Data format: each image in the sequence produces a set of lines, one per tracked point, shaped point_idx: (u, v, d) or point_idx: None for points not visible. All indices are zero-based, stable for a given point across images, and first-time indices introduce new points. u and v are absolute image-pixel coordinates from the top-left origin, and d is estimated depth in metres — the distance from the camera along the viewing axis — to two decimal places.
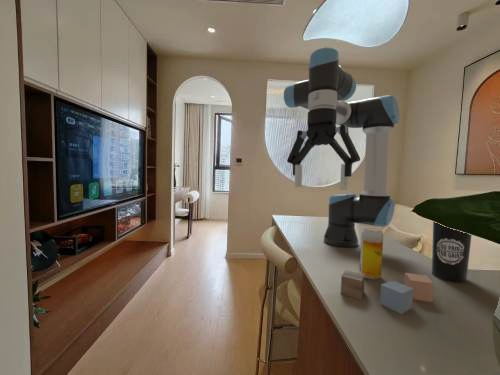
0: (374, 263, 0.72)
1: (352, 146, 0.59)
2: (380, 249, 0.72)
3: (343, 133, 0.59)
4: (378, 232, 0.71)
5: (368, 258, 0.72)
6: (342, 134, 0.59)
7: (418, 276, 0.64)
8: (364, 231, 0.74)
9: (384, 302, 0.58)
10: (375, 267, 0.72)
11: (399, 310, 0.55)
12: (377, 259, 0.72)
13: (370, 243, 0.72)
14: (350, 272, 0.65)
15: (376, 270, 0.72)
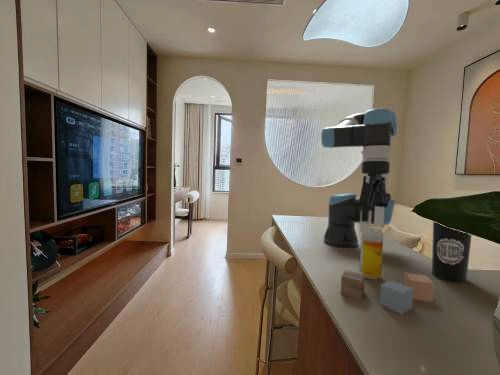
0: (374, 263, 0.72)
1: (363, 195, 0.67)
2: (380, 249, 0.72)
3: None
4: (378, 232, 0.71)
5: (368, 258, 0.72)
6: None
7: (418, 276, 0.64)
8: None
9: (384, 302, 0.58)
10: (375, 267, 0.72)
11: (399, 310, 0.55)
12: (377, 259, 0.72)
13: (370, 243, 0.72)
14: (350, 272, 0.65)
15: (376, 270, 0.72)
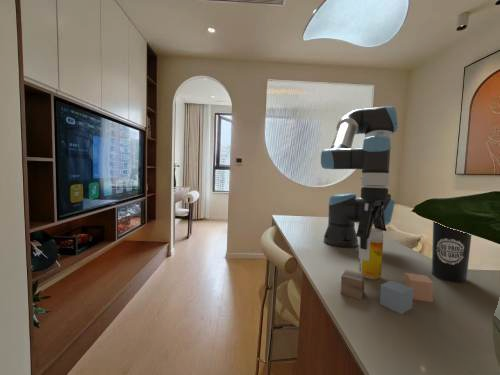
0: (374, 263, 0.72)
1: (362, 223, 0.68)
2: (380, 249, 0.72)
3: None
4: (378, 232, 0.71)
5: None
6: None
7: (418, 276, 0.64)
8: None
9: (384, 302, 0.58)
10: (375, 267, 0.72)
11: (399, 310, 0.55)
12: (377, 259, 0.72)
13: (370, 243, 0.72)
14: (350, 272, 0.65)
15: (376, 270, 0.72)
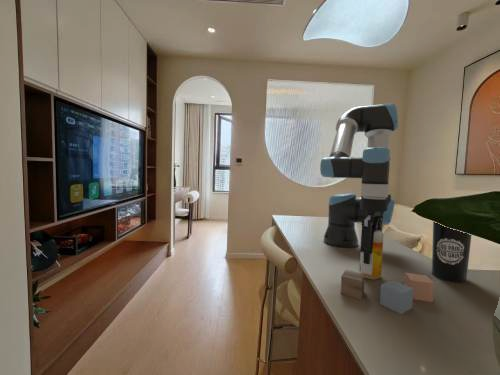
0: (374, 263, 0.72)
1: (364, 239, 0.70)
2: (380, 249, 0.72)
3: None
4: (378, 232, 0.71)
5: None
6: None
7: (418, 276, 0.64)
8: None
9: (384, 302, 0.58)
10: (375, 267, 0.72)
11: (399, 310, 0.55)
12: (377, 259, 0.72)
13: None
14: (350, 272, 0.65)
15: (376, 270, 0.72)
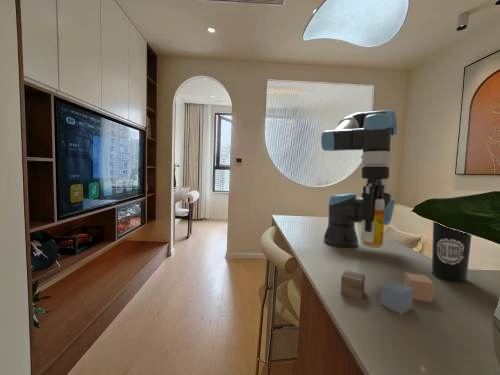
0: (376, 231, 0.71)
1: (365, 207, 0.69)
2: (382, 217, 0.71)
3: None
4: (380, 200, 0.71)
5: None
6: None
7: (418, 276, 0.64)
8: None
9: (384, 302, 0.58)
10: (377, 235, 0.71)
11: (399, 310, 0.55)
12: (379, 227, 0.71)
13: None
14: (350, 272, 0.65)
15: (378, 238, 0.72)
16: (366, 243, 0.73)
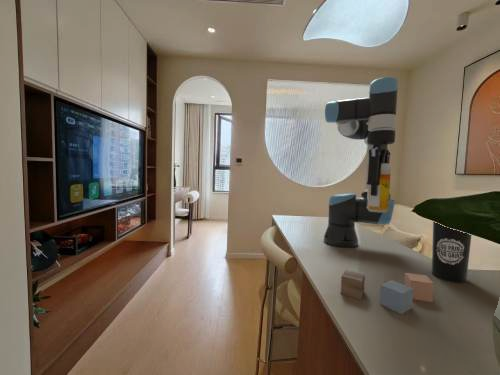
0: (382, 195, 0.71)
1: (371, 170, 0.69)
2: (387, 181, 0.71)
3: None
4: (385, 164, 0.71)
5: None
6: None
7: (418, 276, 0.64)
8: None
9: (384, 302, 0.58)
10: (382, 200, 0.71)
11: (399, 310, 0.55)
12: (384, 191, 0.71)
13: None
14: (350, 272, 0.65)
15: (383, 202, 0.71)
16: (372, 208, 0.73)
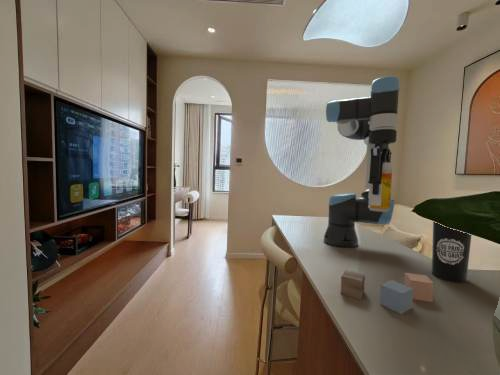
0: (383, 194, 0.71)
1: (373, 169, 0.69)
2: (389, 180, 0.71)
3: None
4: (387, 163, 0.71)
5: None
6: None
7: (418, 276, 0.64)
8: None
9: (384, 302, 0.58)
10: (384, 199, 0.71)
11: (399, 310, 0.55)
12: (386, 190, 0.71)
13: None
14: (350, 272, 0.65)
15: (385, 201, 0.71)
16: (373, 207, 0.73)
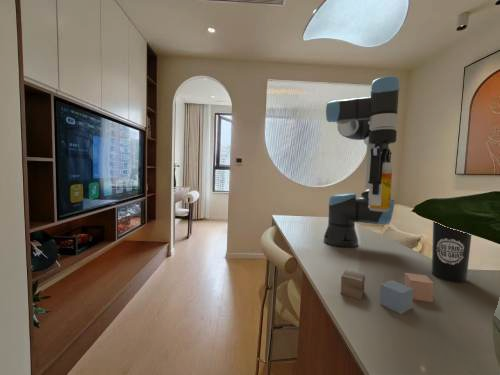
0: (383, 194, 0.71)
1: (373, 169, 0.69)
2: (389, 180, 0.71)
3: None
4: (387, 163, 0.71)
5: None
6: None
7: (418, 276, 0.64)
8: None
9: (384, 302, 0.58)
10: (384, 199, 0.71)
11: (399, 310, 0.55)
12: (386, 190, 0.71)
13: None
14: (350, 272, 0.65)
15: (385, 201, 0.71)
16: (373, 207, 0.73)
